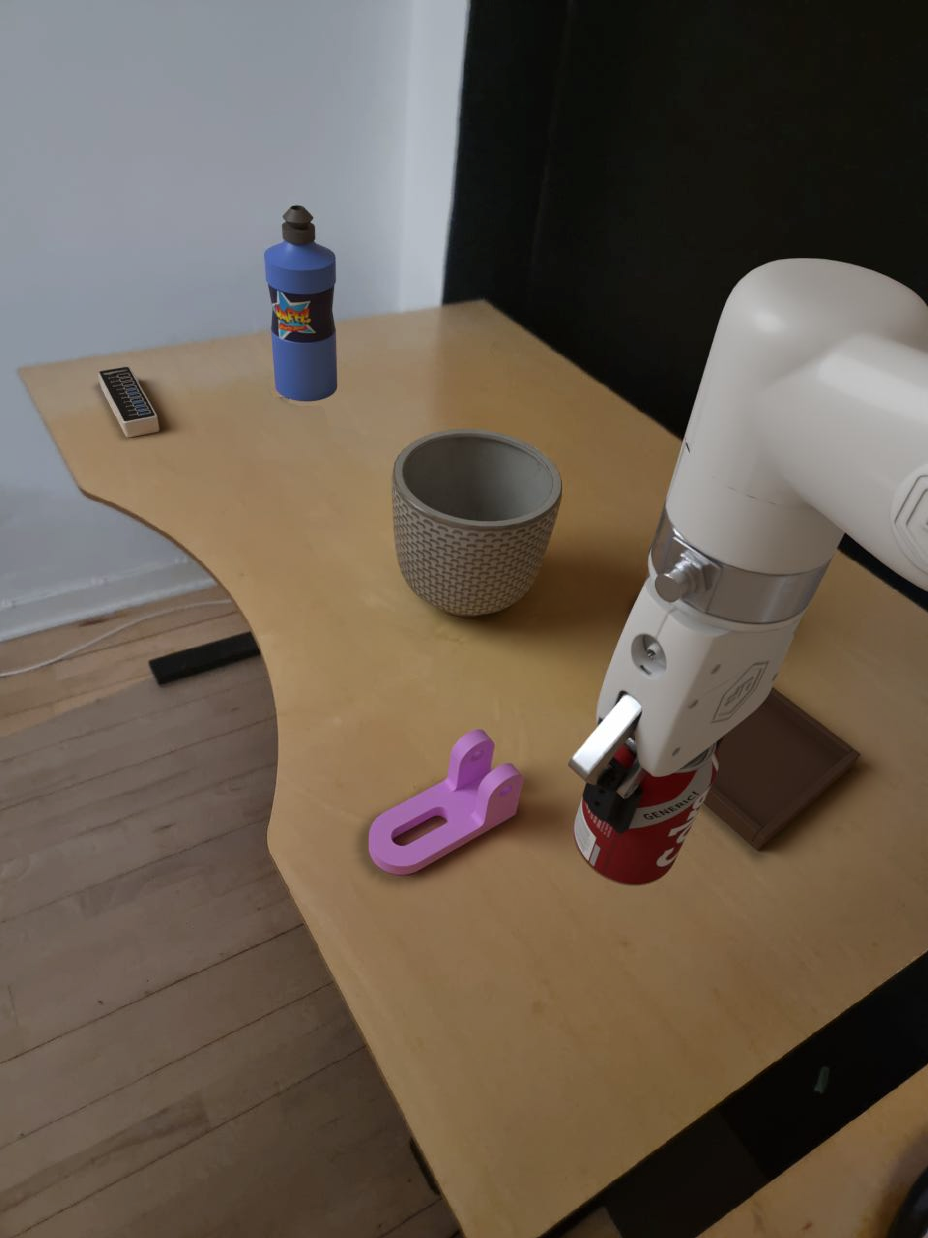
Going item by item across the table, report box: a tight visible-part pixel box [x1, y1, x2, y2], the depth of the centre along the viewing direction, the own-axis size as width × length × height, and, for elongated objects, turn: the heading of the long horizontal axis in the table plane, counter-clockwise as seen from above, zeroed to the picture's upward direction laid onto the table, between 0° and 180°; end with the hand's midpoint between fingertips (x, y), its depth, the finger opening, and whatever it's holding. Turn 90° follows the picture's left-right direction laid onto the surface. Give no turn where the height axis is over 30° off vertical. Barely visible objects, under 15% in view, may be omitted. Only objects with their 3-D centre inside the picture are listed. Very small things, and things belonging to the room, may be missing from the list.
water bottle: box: [263, 204, 338, 403], centre depth 116 cm, size 9×9×25 cm
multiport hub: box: [97, 366, 160, 438], centre depth 116 cm, size 4×14×2 cm, turn 30°
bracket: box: [368, 728, 525, 876], centre depth 71 cm, size 13×6×7 cm, turn 125°
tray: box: [703, 687, 861, 852], centre depth 82 cm, size 16×16×2 cm
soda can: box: [572, 742, 719, 887], centre depth 51 cm, size 7×7×12 cm
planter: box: [390, 428, 563, 618], centre depth 90 cm, size 17×17×16 cm
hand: (647, 780), depth 51 cm, fingers closed on soda can, 6 cm apart
